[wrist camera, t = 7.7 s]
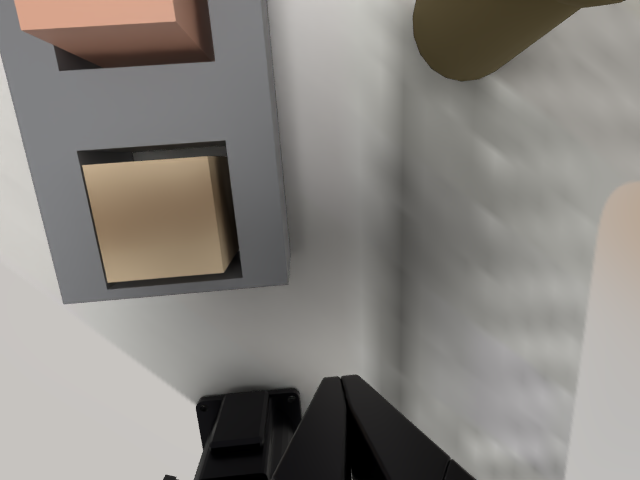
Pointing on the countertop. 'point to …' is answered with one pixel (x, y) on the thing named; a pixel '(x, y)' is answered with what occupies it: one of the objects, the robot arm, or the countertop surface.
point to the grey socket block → (152, 144)
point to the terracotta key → (122, 30)
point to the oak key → (163, 217)
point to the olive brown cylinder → (485, 31)
